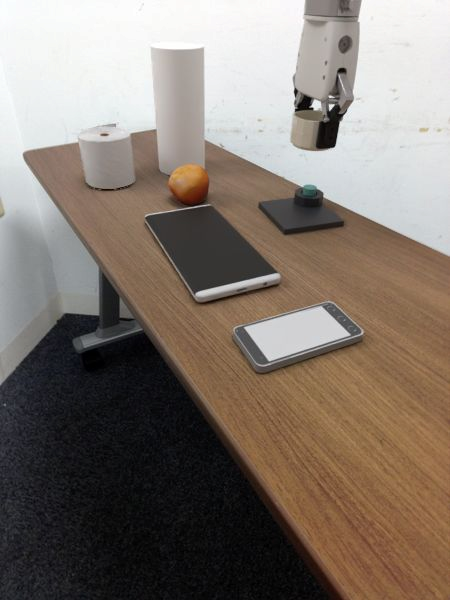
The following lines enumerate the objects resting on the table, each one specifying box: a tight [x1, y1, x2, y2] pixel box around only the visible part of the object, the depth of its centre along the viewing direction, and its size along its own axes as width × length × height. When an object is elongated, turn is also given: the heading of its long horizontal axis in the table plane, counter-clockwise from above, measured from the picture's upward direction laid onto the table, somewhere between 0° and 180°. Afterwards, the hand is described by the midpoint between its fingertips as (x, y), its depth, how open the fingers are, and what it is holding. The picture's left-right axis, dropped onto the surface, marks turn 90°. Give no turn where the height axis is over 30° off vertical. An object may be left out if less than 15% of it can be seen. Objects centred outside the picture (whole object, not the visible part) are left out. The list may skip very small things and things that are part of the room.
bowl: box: [289, 109, 331, 152], centre depth 68 cm, size 7×7×4 cm
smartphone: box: [232, 300, 364, 374], centre depth 53 cm, size 7×1×15 cm
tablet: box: [144, 204, 282, 303], centre depth 69 cm, size 13×27×2 cm, turn 24°
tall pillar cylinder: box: [150, 41, 206, 176], centre depth 93 cm, size 11×11×25 cm
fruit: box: [168, 164, 210, 206], centre depth 84 cm, size 8×8×8 cm
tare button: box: [302, 184, 318, 196], centre depth 82 cm, size 3×3×2 cm
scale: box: [257, 187, 345, 236], centre depth 80 cm, size 12×12×3 cm
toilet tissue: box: [76, 122, 137, 188], centre depth 90 cm, size 11×12×10 cm
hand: (312, 139), depth 68 cm, fingers closed on bowl, 7 cm apart
